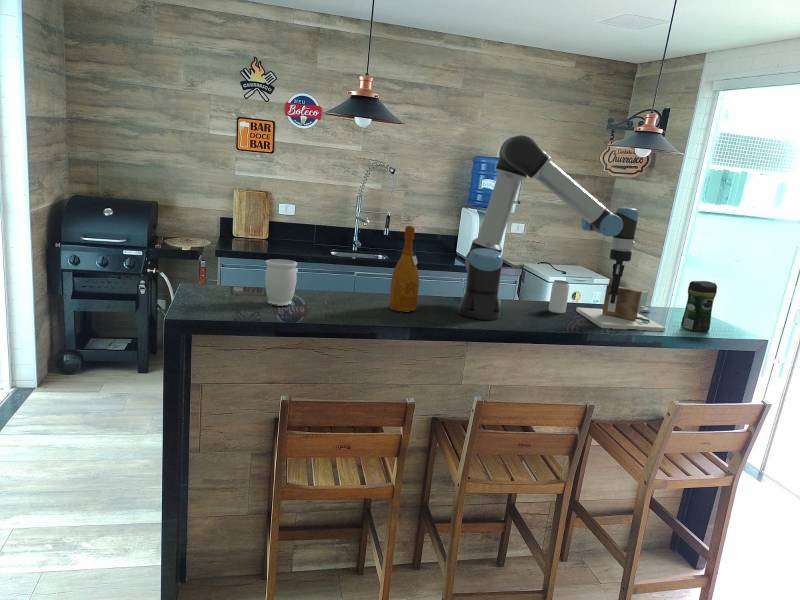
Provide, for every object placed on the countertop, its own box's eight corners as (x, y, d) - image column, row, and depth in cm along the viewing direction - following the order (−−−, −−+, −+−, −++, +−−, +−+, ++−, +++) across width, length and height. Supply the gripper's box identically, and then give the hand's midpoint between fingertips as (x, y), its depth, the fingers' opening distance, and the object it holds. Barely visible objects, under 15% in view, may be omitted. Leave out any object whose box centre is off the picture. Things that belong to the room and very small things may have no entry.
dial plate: (601, 327, 212) (602, 323, 212) (576, 311, 235) (576, 306, 235) (664, 331, 215) (665, 327, 214) (633, 314, 238) (634, 310, 238)
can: (563, 310, 234) (568, 280, 232) (566, 314, 228) (571, 284, 226) (547, 308, 235) (551, 279, 232) (549, 312, 229) (554, 282, 226)
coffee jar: (695, 326, 228) (705, 279, 223) (712, 332, 220) (723, 283, 216) (676, 326, 224) (685, 278, 220) (692, 332, 217) (702, 283, 213)
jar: (263, 307, 199) (265, 263, 195) (264, 300, 209) (265, 258, 205) (295, 308, 201) (298, 265, 198) (294, 301, 211) (296, 259, 207)
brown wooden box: (602, 313, 227) (606, 285, 224) (604, 312, 229) (609, 284, 227) (647, 323, 218) (653, 294, 215) (649, 322, 220) (655, 293, 217)
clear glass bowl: (637, 315, 240) (640, 297, 238) (619, 308, 251) (622, 290, 250) (662, 316, 243) (665, 298, 242) (643, 308, 255) (646, 291, 253)
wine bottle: (397, 314, 206) (404, 227, 199) (384, 307, 214) (391, 224, 207) (421, 312, 211) (429, 228, 204) (407, 306, 219) (415, 224, 212)
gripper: (631, 253, 212) (620, 316, 217) (633, 248, 227) (622, 307, 232) (609, 250, 214) (599, 313, 220) (612, 245, 230) (603, 304, 235)
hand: (611, 310), depth 226 cm, fingers closed on brown wooden box, 4 cm apart
